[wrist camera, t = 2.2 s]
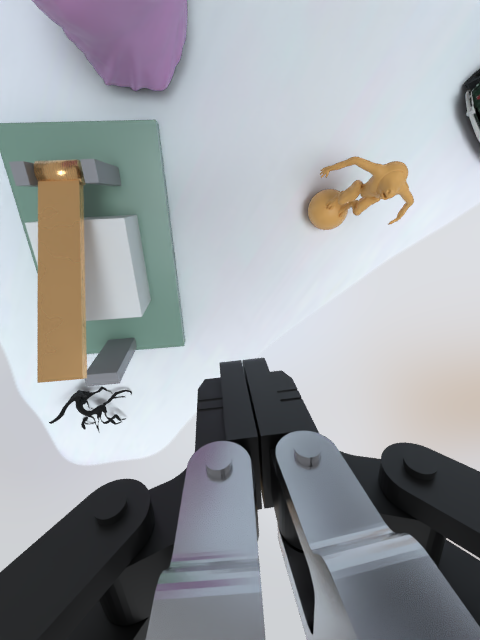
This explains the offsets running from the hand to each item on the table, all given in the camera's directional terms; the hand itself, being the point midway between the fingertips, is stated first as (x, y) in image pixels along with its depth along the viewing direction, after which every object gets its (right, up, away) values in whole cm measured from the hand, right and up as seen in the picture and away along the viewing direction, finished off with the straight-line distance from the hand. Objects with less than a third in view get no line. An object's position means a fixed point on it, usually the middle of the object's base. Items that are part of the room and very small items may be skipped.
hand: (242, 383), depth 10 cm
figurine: (+9, +15, +23) cm, 29 cm away
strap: (-13, +6, +13) cm, 20 cm away
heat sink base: (-14, +10, +22) cm, 28 cm away
